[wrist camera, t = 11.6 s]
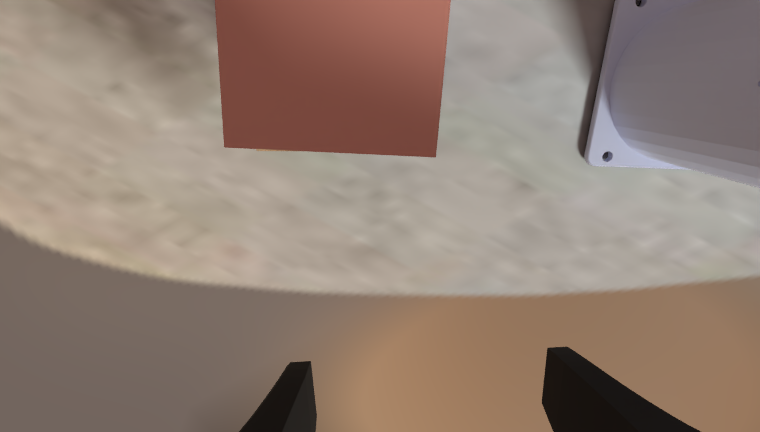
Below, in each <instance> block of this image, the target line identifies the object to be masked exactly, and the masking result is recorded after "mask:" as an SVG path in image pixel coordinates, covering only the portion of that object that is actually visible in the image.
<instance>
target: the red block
mask: <svg viewBox="0 0 760 432" xmlns="http://www.w3.org/2000/svg"><path fill="white" fill-rule="evenodd" d="M450 2H451V0H215V9H216V25H217V41H218V56H219V72H220V88H221V104H222V119H223V135H224V147H228V148H249V149H270V150H292V151H313V152H335V153H356V154H377V155H399V156H420V157H436V149H437V139H438V128H439V118H440V107H441V97H442V86H443V76H444V65H445V54H446V44H447V33H448V23H449V12H450Z"/></svg>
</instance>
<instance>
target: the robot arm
mask: <svg viewBox="0 0 760 432" xmlns="http://www.w3.org/2000/svg"><path fill="white" fill-rule="evenodd" d="M605 152H608V157H607V158H606V159H605V160H603V159H602V156H603V154H604V153H605ZM584 158H585V161H586V162H587V163H588V164H590V165H594V166H611V167H638V168H666V169H691V170H695V171H698V172H702V173H706V174H710V175H713V176H717V177H721V178H724V179H728V180H732V181H735V182H739V183H743V184H746V185H750V186H754V187H757V188H760V0H641V5H640V6H639V7H638V6H637V5H636V0H615V4H614V9H613V14H612V19H611V24H610V29H609V34H608V39H607V44H606V49H605V54H604V59H603V64H602V69H601V74H600V79H599V84H598V89H597V94H596V99H595V104H594V109H593V114H592V119H591V124H590V129H589V135H588V140H587V145H586V150H585V155H584ZM542 404H543V407H544V409H545V412H546V414H547V417H548V419H549V422H550V424H551V427H552V429H553V431H554V432H700V431H699V430H697V429H695V428H693V427H691V426H689V425H687V424H686V423H684V422H682V421H680V420H678V419H677V418H675V417H673V416H672V415H670V414H668V413H667V412H665V411H663V410H662V409H660V408H659V407H657V406H655V405H654V404H652V403H650V402H649V401H647V400H646V399H644V398H642V397H641V396H639V395H638V394H636V393H635V392H633V391H632V390H630V389H629V388H627V387H626V386H624V385H622V384H621V383H620V382H618V381H617V380H615V379H614V378H612V377H611V376H609V375H608V374H607V373H605V372H604V371H602V370H601V369H599V368H598V367H597V366H595V365H594V364H592V363H591V362H589V361H588V360H587V359H585V358H584V357H582V356H581V355H579V354H578V353H576V352H575V351H573V350H572V349H570V348H568V347H555V348H548V349H547V358H546V367H545V377H544V386H543V396H542ZM316 418H317V414H316V405H315V395H314V386H313V377H312V368H311V361H306V362H290V364H289V365H287V367H286V368H285V370H284V372H283V373H282V375H281V376H280V378H279V379H278V381H277V382H276V384H275V385H274V387H273V388H272V389H271V391H270V392H269V394H268V395H267V396H266V398H265V399H264V401H263V402H262V403H261V405H260V406H259V407H258V409H257V410H256V411H255V413H254V414H253V415H252V416H251V418H250V419H249V420H248V422H247V423H246V424H245V425H244V426H243V427H242V429H241V430H240V431H239V432H315V431H316Z"/></svg>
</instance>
